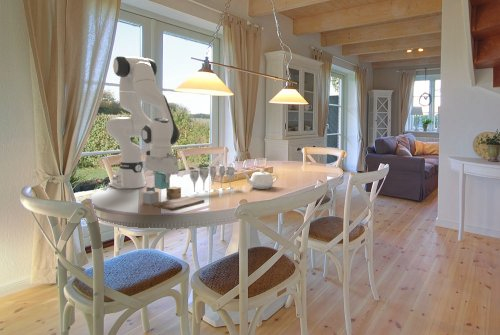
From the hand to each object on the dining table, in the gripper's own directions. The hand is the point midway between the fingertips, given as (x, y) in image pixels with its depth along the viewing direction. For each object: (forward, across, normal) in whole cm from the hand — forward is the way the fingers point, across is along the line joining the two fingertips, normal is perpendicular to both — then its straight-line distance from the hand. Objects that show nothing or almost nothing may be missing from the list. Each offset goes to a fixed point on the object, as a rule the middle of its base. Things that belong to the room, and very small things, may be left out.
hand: (162, 181), depth 167 cm
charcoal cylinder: (+9, +8, 0) cm, 12 cm away
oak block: (+9, -1, -7) cm, 11 cm away
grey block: (+9, -1, +7) cm, 12 cm away
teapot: (+9, -20, -56) cm, 60 cm away
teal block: (+3, 0, 0) cm, 3 cm away
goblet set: (+10, -5, -32) cm, 33 cm away
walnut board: (+9, -13, 0) cm, 16 cm away
